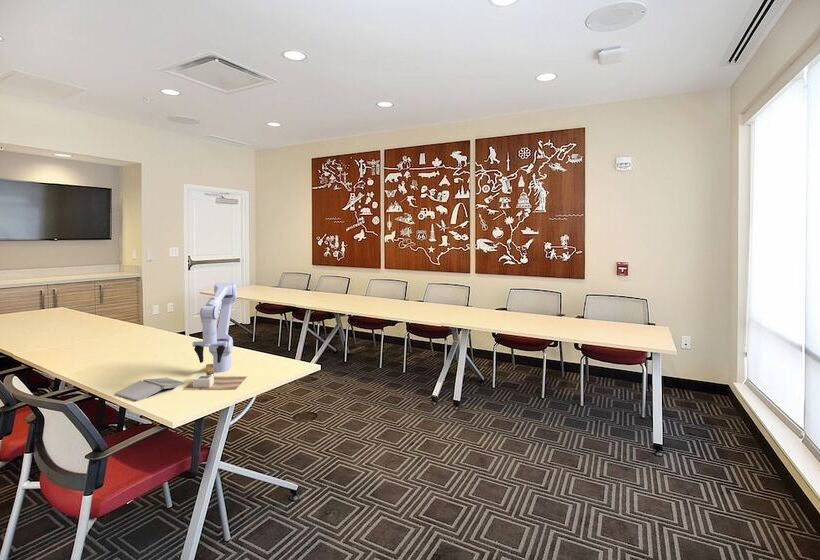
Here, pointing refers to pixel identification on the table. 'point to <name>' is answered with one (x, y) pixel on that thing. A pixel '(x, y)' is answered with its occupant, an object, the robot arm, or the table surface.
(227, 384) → the subfloor
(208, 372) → the copper and grey cylinder
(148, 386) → the grey bent flat piece
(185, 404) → the table surface
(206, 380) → the white open box
